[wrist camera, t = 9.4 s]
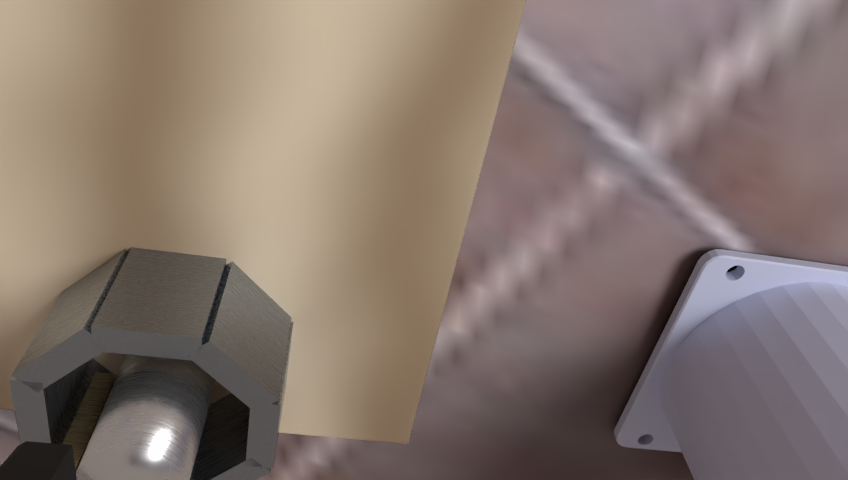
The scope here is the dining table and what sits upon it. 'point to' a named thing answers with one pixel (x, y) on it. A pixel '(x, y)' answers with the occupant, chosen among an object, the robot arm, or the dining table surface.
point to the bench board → (256, 170)
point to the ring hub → (165, 351)
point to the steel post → (141, 421)
